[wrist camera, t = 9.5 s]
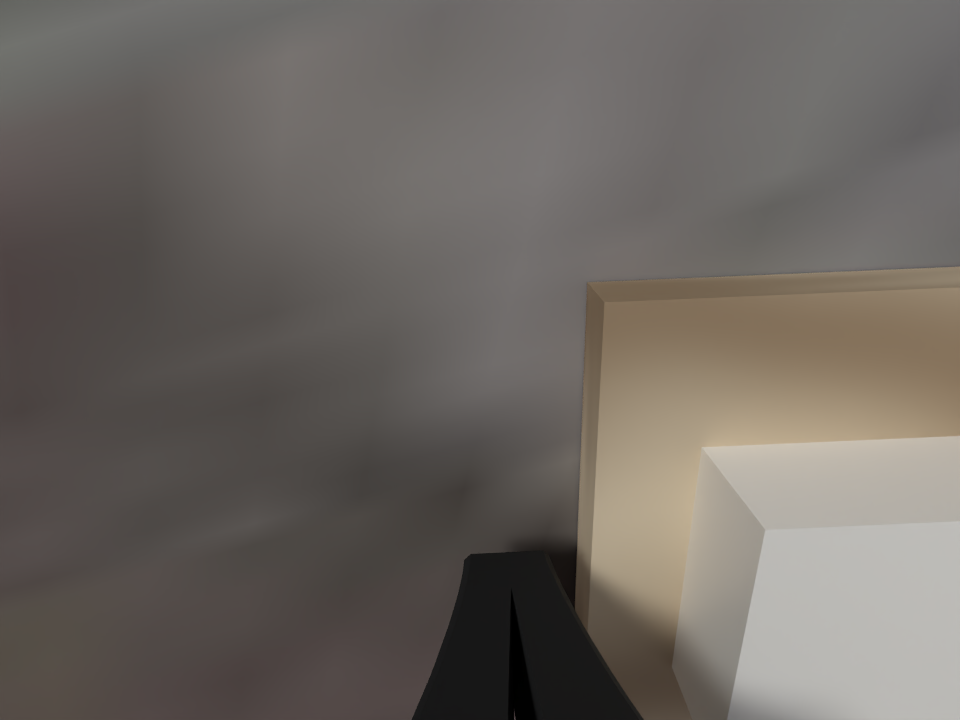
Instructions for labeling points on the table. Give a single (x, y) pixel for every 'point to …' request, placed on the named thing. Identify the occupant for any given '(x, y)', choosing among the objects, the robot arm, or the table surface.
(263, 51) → the table surface
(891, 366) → the oak board
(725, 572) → the cream tile
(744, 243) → the table surface
